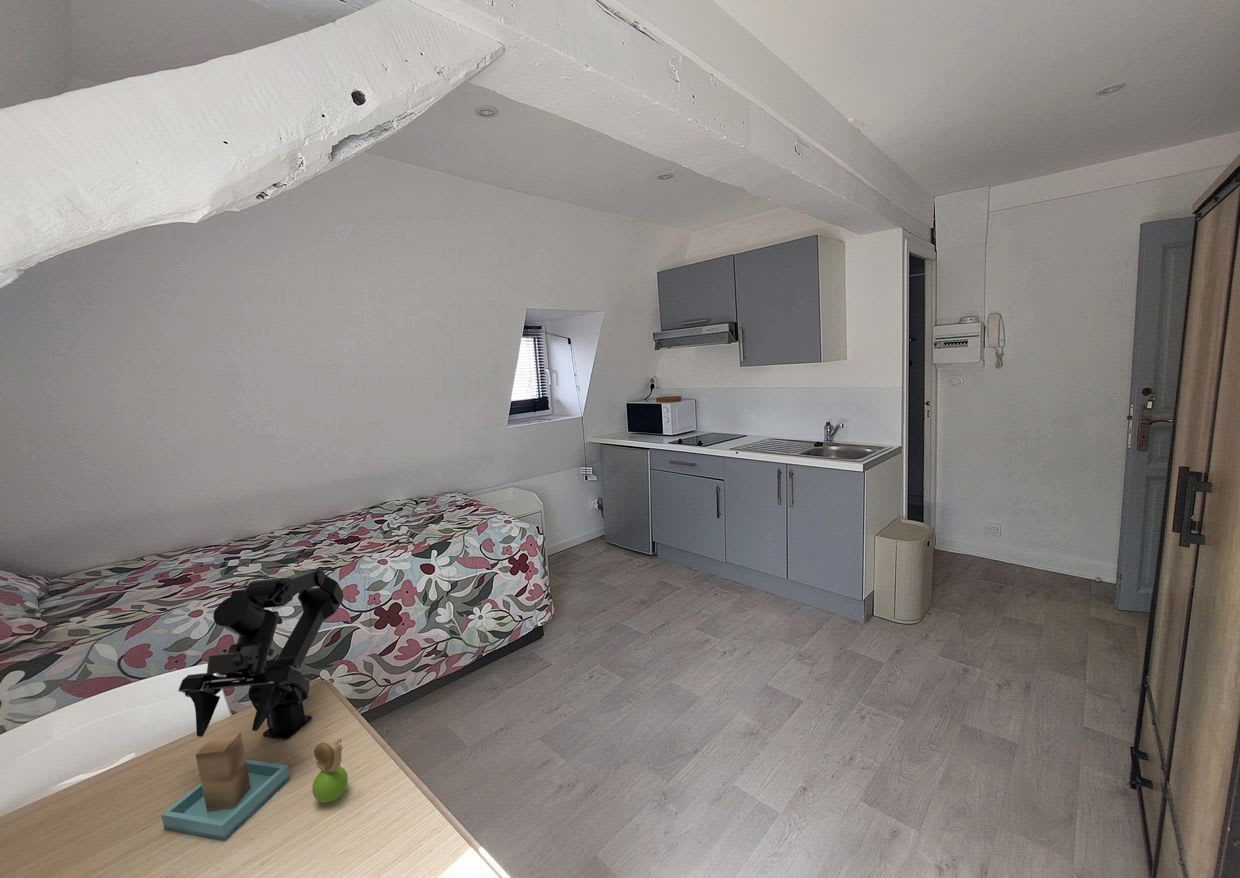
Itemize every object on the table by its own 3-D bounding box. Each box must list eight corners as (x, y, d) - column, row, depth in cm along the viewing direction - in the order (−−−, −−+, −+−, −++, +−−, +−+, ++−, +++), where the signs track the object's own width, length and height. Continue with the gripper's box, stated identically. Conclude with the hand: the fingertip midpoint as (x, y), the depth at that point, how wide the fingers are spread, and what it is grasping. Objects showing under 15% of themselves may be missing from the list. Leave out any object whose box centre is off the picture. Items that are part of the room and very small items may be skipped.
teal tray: (290, 778, 95) (287, 765, 95) (224, 841, 83) (221, 826, 83) (235, 770, 98) (232, 757, 98) (164, 829, 86) (161, 814, 86)
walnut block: (224, 790, 92) (213, 735, 91) (250, 786, 93) (240, 732, 91) (207, 811, 88) (195, 754, 86) (235, 808, 88) (224, 750, 87)
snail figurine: (335, 815, 87) (325, 751, 85) (307, 806, 89) (296, 744, 87) (361, 789, 92) (352, 729, 90) (333, 781, 94) (324, 722, 92)
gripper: (175, 635, 93) (137, 733, 84) (284, 625, 94) (258, 720, 85) (213, 651, 102) (182, 741, 93) (312, 641, 103) (291, 729, 94)
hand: (227, 733), depth 91 cm, fingers open, 9 cm apart
